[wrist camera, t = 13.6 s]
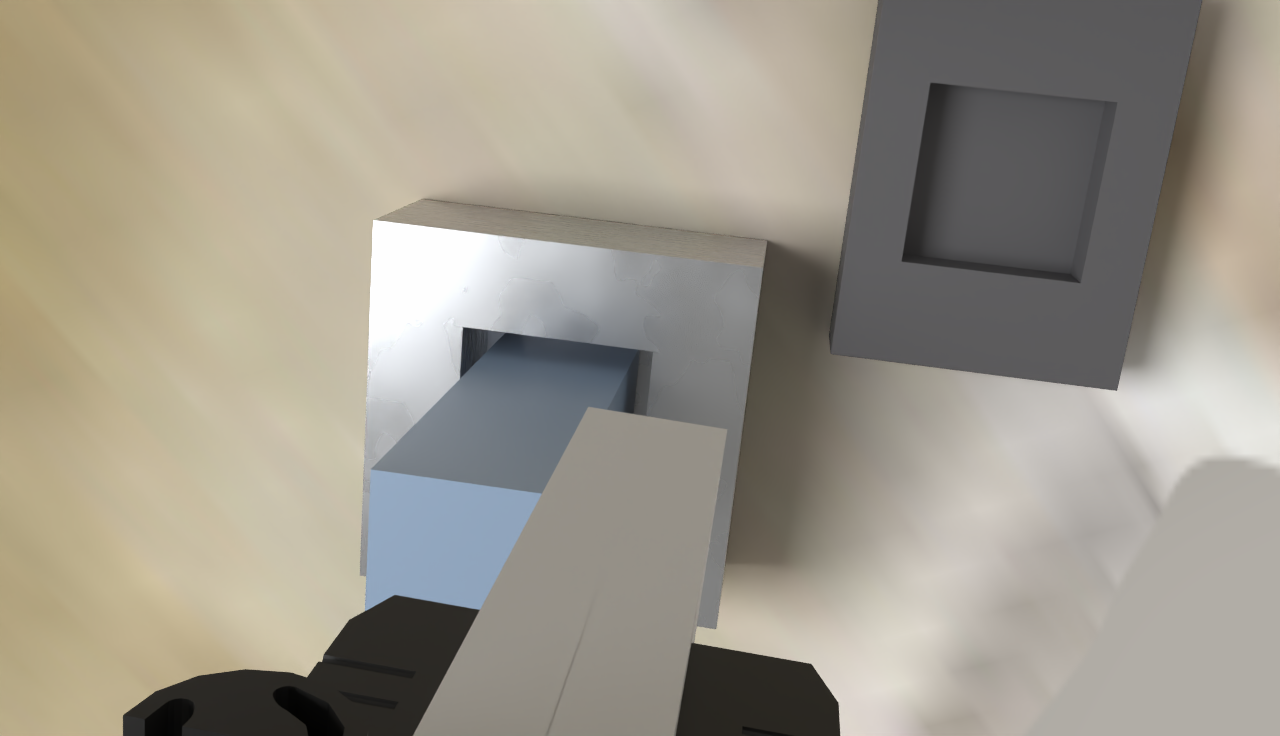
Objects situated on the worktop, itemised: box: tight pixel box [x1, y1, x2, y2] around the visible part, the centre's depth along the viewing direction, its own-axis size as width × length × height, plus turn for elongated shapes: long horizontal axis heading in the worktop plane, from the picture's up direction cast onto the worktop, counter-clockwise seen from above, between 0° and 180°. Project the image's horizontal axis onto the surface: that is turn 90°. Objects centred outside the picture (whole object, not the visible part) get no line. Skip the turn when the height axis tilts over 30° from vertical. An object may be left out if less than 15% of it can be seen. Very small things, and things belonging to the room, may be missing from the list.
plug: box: [365, 333, 640, 611], centre depth 35 cm, size 4×4×14 cm
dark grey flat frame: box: [829, 0, 1202, 391], centre depth 38 cm, size 12×9×2 cm
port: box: [360, 199, 767, 629], centre depth 41 cm, size 13×12×5 cm
